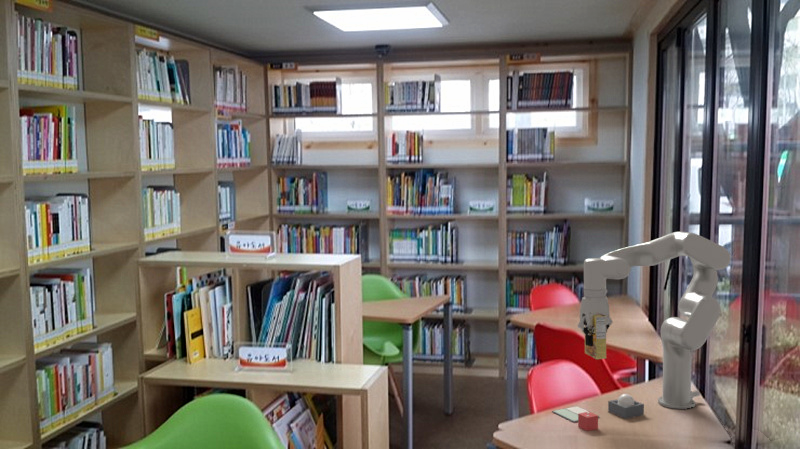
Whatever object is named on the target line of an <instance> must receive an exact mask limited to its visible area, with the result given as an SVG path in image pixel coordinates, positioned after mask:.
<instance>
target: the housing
mask: <svg viewBox="0 0 800 449" xmlns="http://www.w3.org/2000/svg"><path fill="white" fill-rule="evenodd" d="M607 406H608V407H607V408H608V409H607V410H608V411H607V412H609V413H610V414H613V415H615V416H618V417H620V418H621V419H625V420H626V419H631V418H635V417H639V416H644V415H645V404H644V403H642V402H640V401H637V400H634V405H631V406H627V407H625V406H622V405H620V404H618V398H617V399H612V400H608V404H607Z"/></svg>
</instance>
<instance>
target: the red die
mask: <svg viewBox="0 0 800 449" xmlns="http://www.w3.org/2000/svg"><path fill="white" fill-rule="evenodd" d="M598 416H599V415H598V414H596V413H594V412H592V411H589V412H584V413H579V414H578V422H577V428H580V429H582V430H584V431H586V432H588V431H589V432H591V431H594V430H598V429H599V418H598Z"/></svg>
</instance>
